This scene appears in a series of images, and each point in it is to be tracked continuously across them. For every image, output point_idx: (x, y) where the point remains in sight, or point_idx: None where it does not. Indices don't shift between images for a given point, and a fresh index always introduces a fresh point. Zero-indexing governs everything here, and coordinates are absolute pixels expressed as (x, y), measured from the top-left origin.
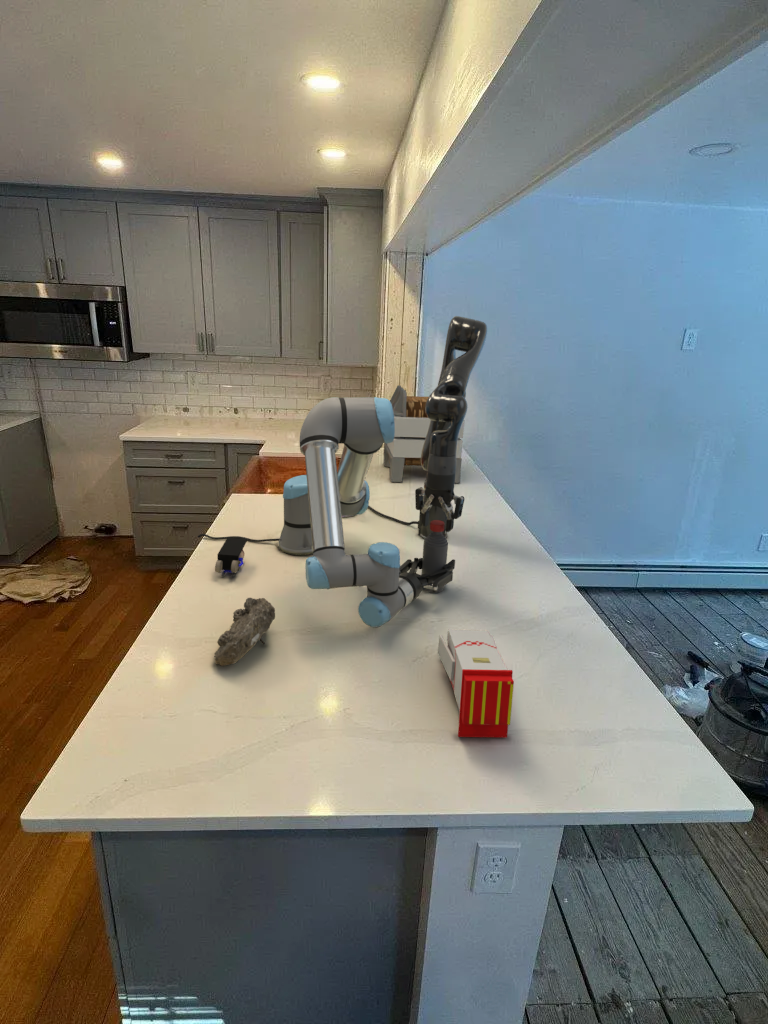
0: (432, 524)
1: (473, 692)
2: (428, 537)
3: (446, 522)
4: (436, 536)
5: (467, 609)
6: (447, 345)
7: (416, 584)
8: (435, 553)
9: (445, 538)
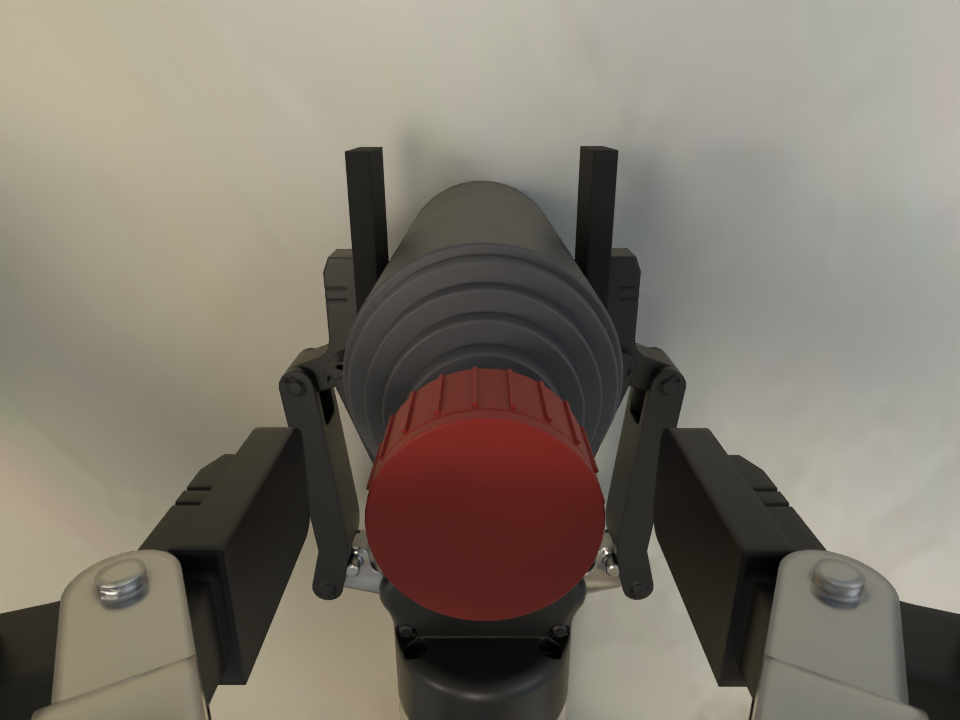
0: (447, 610)
1: None
2: None
3: (702, 639)
4: None
5: (765, 375)
6: None
7: (559, 695)
8: None
9: (586, 354)
